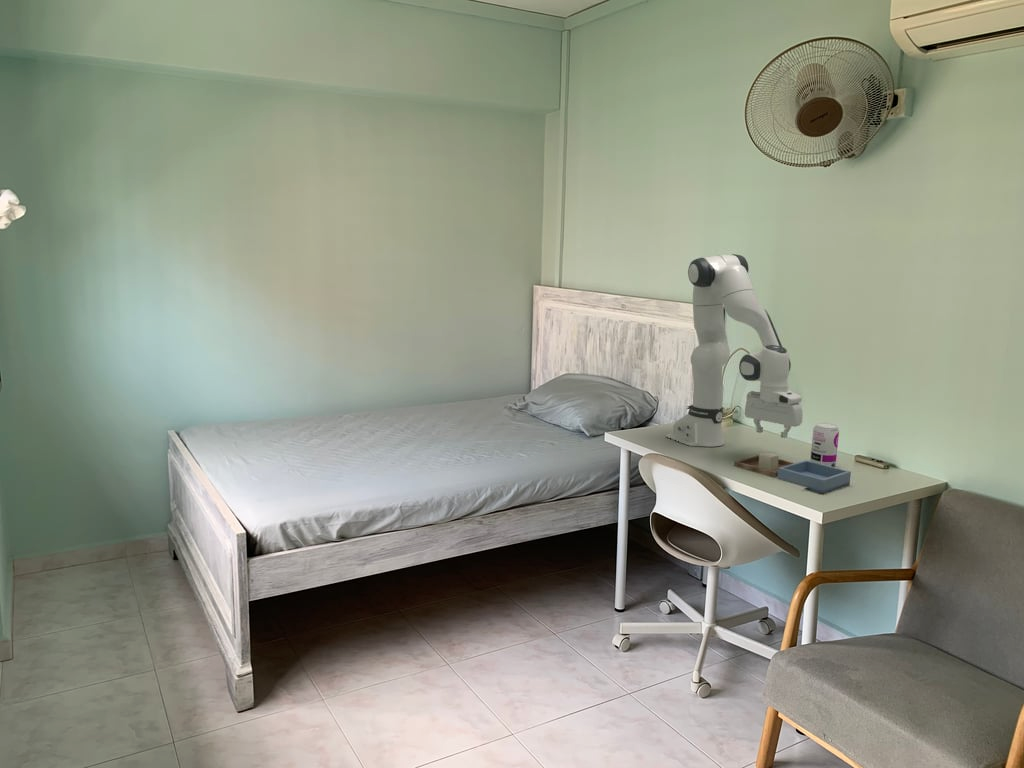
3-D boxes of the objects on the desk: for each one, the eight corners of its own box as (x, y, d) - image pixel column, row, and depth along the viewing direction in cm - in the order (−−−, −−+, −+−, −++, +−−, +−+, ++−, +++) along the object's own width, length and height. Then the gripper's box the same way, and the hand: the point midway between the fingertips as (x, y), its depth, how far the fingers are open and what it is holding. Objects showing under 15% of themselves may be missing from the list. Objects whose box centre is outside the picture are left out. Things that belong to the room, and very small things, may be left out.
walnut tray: (733, 468, 271) (734, 461, 271) (761, 461, 281) (761, 454, 281) (774, 480, 259) (775, 473, 259) (802, 472, 269) (802, 465, 268)
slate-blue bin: (777, 481, 258) (778, 468, 258) (804, 472, 268) (805, 460, 267) (822, 494, 246) (823, 480, 245) (849, 485, 256) (850, 471, 255)
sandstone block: (758, 467, 270) (759, 454, 270) (766, 464, 273) (767, 452, 272) (769, 470, 267) (770, 457, 266) (777, 468, 270) (778, 455, 269)
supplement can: (836, 466, 276) (841, 424, 274) (832, 472, 269) (837, 429, 267) (812, 462, 280) (816, 421, 278) (807, 468, 273) (811, 426, 271)
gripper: (741, 391, 271) (739, 430, 274) (795, 400, 255) (792, 441, 258) (752, 389, 275) (751, 427, 277) (806, 397, 259) (803, 438, 261)
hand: (771, 434), depth 267 cm, fingers open, 8 cm apart
